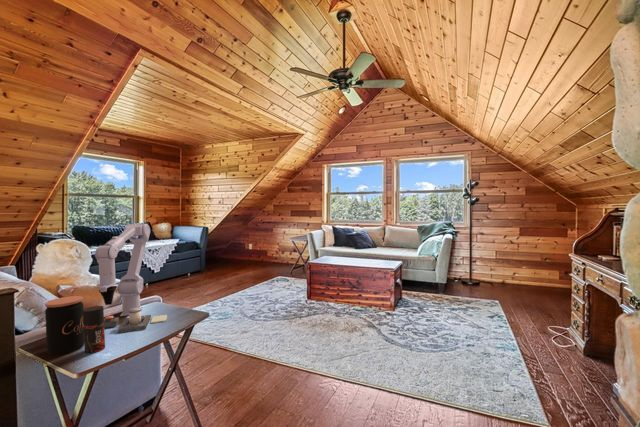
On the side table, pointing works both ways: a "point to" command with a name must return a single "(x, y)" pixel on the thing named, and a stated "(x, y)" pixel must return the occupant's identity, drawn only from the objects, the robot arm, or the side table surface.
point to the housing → (126, 327)
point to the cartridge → (134, 315)
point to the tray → (159, 319)
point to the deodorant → (94, 329)
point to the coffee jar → (64, 325)
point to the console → (111, 323)
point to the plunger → (109, 318)
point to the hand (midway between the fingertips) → (108, 304)
